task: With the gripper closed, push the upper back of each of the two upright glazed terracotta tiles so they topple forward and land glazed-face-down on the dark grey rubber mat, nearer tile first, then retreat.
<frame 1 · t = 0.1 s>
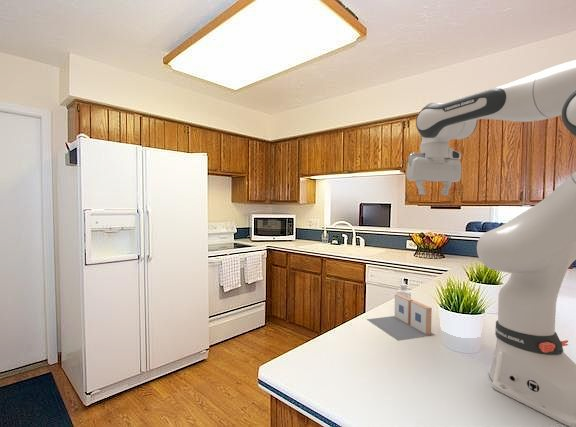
hand: (433, 194, 103), 48 cm above the countertop, tool pointing down, fingers open, 8 cm apart
tile b: (403, 320, 115), resting on mat
tile a: (420, 329, 106), resting on mat
mat: (398, 327, 109), on the countertop
eye dropper bottle: (403, 309, 128), on the countertop
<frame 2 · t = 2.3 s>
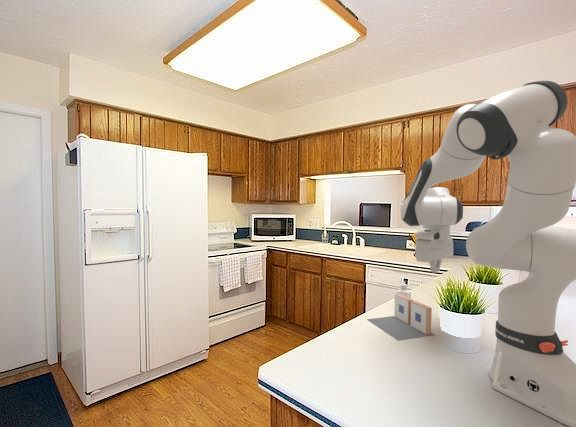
hand: (435, 271, 107), 20 cm above the countertop, tool pointing down, fingers closed
nothing on the countertop moved.
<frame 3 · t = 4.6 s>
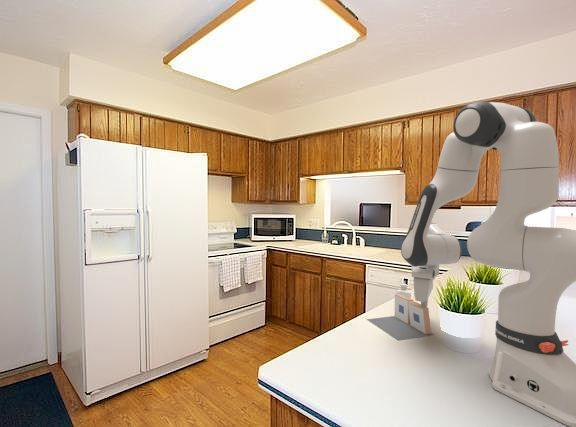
hand: (424, 307, 106), 8 cm above the countertop, tool pointing down, fingers closed
tile a: (420, 329, 106), resting on mat, tilted 9°, touching gripper
everything else where it was.
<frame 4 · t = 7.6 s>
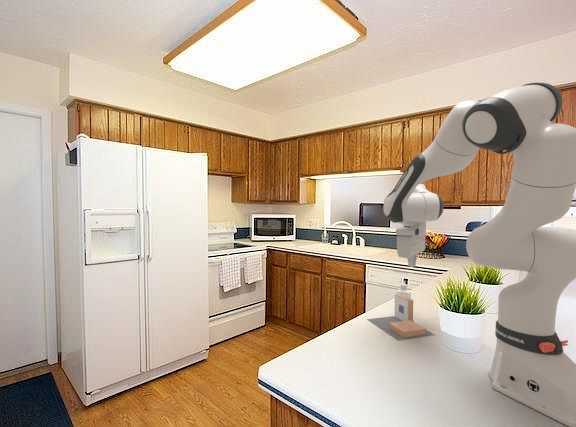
hand: (412, 266, 110), 22 cm above the countertop, tool pointing down, fingers closed
tile a: (417, 327, 106), point 1 cm above the countertop, tilted 90°, touching mat
everything else where it was.
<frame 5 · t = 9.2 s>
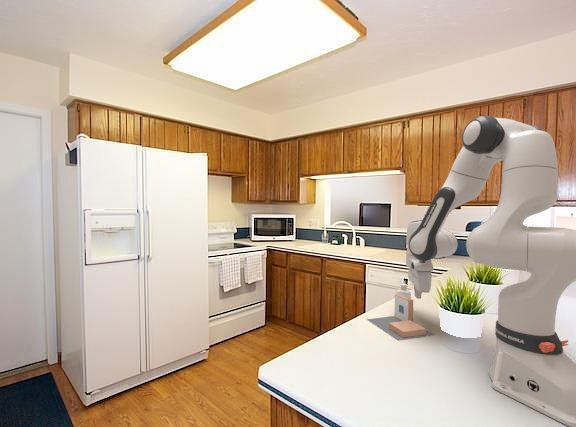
hand: (417, 297, 116), 9 cm above the countertop, tool pointing down, fingers closed
nothing on the countertop moved.
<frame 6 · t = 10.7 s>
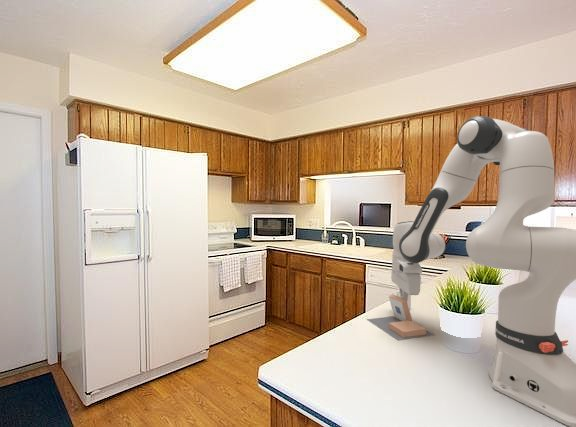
hand: (403, 300, 115), 8 cm above the countertop, tool pointing down, fingers closed
tile b: (403, 319, 115), point 1 cm above the countertop, tilted 19°, touching mat
everything else where it was.
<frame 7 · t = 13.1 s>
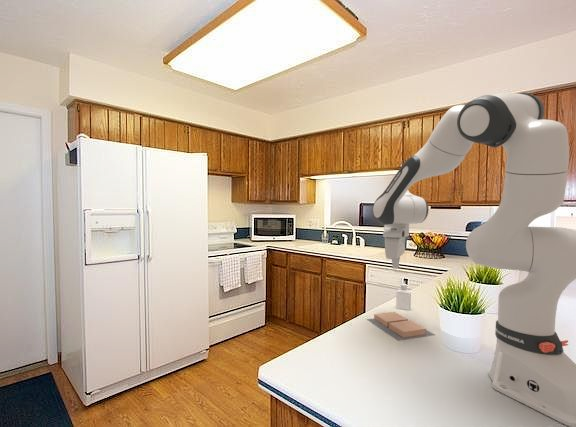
hand: (395, 268, 113), 21 cm above the countertop, tool pointing down, fingers closed
tile b: (401, 318, 114), point 1 cm above the countertop, tilted 90°, touching mat
everything else where it was.
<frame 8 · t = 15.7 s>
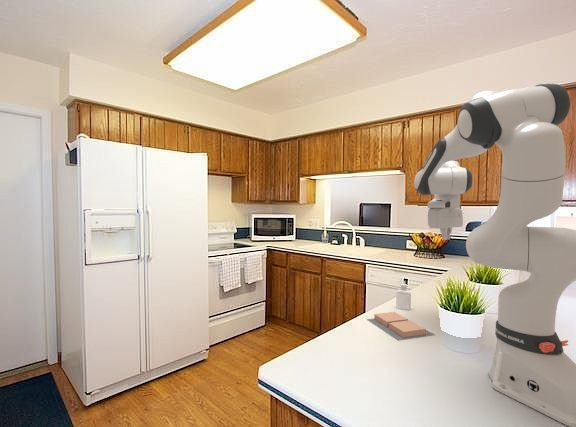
hand: (445, 239, 117), 31 cm above the countertop, tool pointing down, fingers closed
nothing on the countertop moved.
at the end: tile a tilted 90°; tile b tilted 90°; tile a inside the target area (6.3 cm from its centre), point 1.4 cm above the countertop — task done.
